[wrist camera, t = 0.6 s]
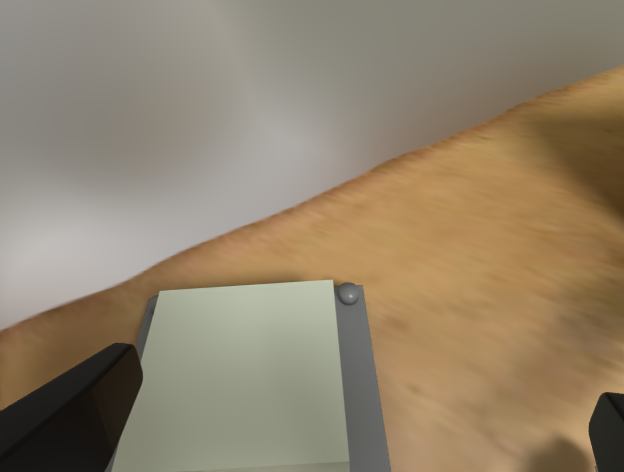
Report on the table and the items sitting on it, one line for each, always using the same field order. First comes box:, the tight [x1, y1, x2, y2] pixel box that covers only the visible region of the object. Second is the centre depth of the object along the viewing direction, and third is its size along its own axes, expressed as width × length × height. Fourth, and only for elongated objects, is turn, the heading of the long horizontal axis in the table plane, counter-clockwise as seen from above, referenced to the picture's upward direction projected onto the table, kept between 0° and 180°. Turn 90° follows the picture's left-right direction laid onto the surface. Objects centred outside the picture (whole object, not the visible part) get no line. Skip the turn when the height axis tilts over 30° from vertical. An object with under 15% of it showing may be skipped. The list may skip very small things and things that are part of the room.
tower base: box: [105, 280, 391, 472], centre depth 24 cm, size 14×14×4 cm
